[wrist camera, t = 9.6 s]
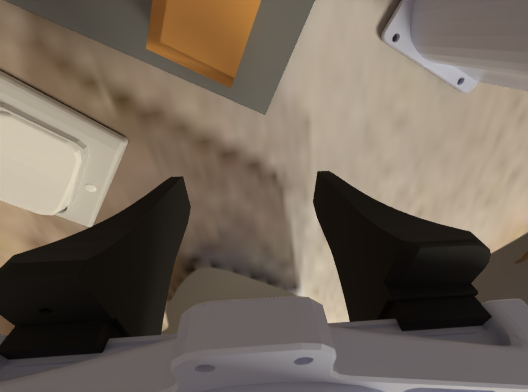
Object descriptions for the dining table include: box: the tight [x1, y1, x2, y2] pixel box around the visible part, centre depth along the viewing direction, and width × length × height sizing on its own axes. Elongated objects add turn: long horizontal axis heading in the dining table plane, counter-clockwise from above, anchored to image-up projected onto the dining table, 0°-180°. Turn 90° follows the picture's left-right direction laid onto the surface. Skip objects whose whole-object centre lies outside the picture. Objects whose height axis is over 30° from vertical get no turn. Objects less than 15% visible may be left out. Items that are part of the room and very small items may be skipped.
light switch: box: [0, 71, 128, 227], centre depth 20 cm, size 11×4×13 cm
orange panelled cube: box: [146, 0, 261, 88], centre depth 13 cm, size 5×5×4 cm
